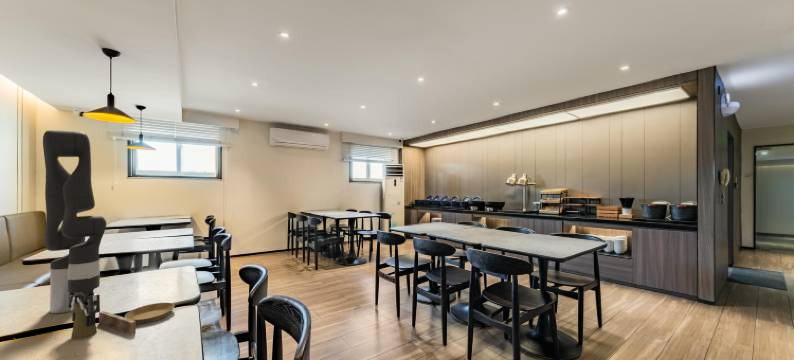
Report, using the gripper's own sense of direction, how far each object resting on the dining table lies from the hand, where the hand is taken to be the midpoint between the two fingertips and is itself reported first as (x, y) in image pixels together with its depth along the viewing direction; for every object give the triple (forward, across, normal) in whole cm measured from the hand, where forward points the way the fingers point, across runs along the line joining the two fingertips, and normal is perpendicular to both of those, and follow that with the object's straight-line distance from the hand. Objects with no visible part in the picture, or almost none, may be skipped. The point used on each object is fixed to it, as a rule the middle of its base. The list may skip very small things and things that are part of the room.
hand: (83, 323), depth 101 cm
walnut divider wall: (+4, +4, +7) cm, 9 cm away
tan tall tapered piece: (+4, 0, 0) cm, 4 cm away
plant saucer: (+5, +5, +17) cm, 18 cm away
